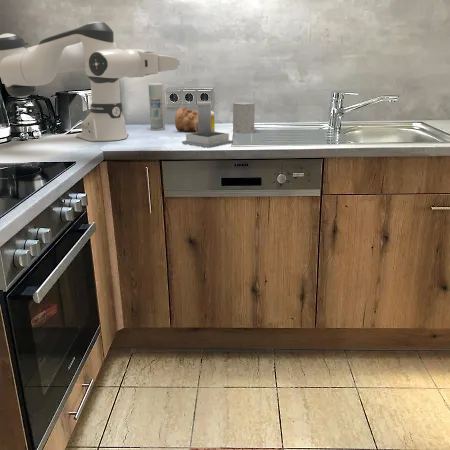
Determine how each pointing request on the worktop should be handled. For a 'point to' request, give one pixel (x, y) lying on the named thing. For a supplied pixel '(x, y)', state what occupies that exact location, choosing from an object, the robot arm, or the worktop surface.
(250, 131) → the grey cylinder
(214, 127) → the supplement bottle
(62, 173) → the worktop surface
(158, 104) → the spray can
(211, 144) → the grey square tray
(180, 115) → the orange brown lumpy figure
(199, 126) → the post
